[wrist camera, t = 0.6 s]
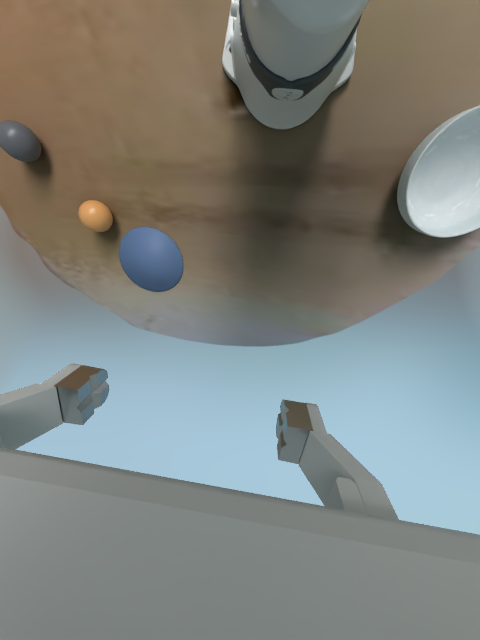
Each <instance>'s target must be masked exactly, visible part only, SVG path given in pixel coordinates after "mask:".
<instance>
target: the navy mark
mask: <svg viewBox="0 0 480 640" xmlns="http://www.w3.org/2000/svg"><path fill="white" fill-rule="evenodd" d="M119 258H120V262H121V265H122V267H123V269H124V271H125V273H126V274H127V276H128V277H129V278H130V279H131V280H132V281H133V282H134V283H136V284H137V285H138V286H140V287H142V288H144V289H147V290H150V291H165V290H168V289H170V288H172V287H173V286H175V285H176V284H177V283H178V281H179V280H180V278H181V276H182V272H183V259H182V255H181V253H180V251H179V249H178V247H177V245H176V244H175V243H174V241H173V240H172V239H171V238H170V237H169V236H167V235H166V234H165V233H163V232H162V231H160V230H157V229H154V228H150V227H139V228H135V229H133V230H131V231H129V232H128V233H127V234H126V235H125V236H124V237H123V239H122V241H121V243H120V247H119Z"/></svg>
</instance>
